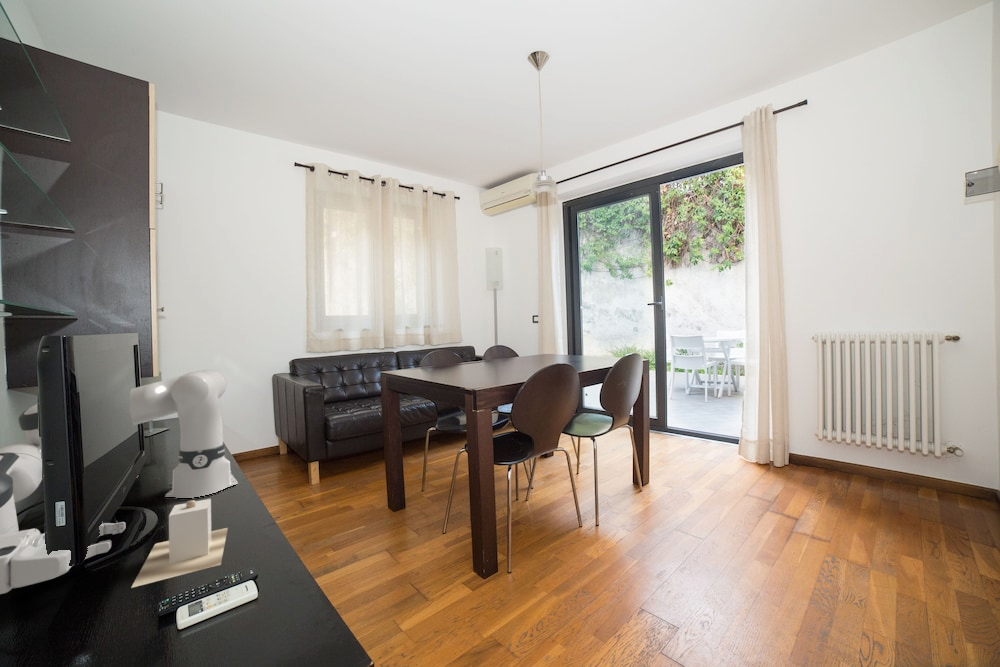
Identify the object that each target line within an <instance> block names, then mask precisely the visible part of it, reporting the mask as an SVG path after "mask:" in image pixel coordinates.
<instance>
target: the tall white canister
mask: <svg viewBox="0 0 1000 667" xmlns="http://www.w3.org/2000/svg"><path fill="white" fill-rule="evenodd" d="M211 531H212V499H211V498H207V499H202V500H197V501H196V500H195V499H189V500H187V501H186V502H185V503H180V504H175V505H174V506H173V507H172V509H171V511H170V513H169V515H168V541H169V564H171V563H175V562H179V561H183V560H187V559H191V558H195V557H199V556H203V555H208V553H209V549H210V546H211Z"/></svg>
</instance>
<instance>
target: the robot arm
mask: <svg viewBox="0 0 1000 667" xmlns="http://www.w3.org/2000/svg"><path fill="white" fill-rule="evenodd" d="M130 389H131V391H130V397H129V399H130V413H131V419H132V423H133V425H134V426H136V425H140V424H144V423H147V422H150V421H153V420H156V419H160V418H163V417H167V416H170V415H173V414H176V413H177V417H178V421H179V430H180V432H179V433H180V434H179V435H180V438H179V439H180V449H179V450H178V456H177V457H178V462H179V464H177V466H175V467H174V469H173V470H172V485H171V486H172V489H171V490H169V491H168V492H167V493H165V496H164V498H165V497H176V498H175V499H177V498H192V499H195V498H194V497H199V498H201V497H200V496H204V497H206V496H205V495H209V494H212V493H216V492H218V491H220V490H223V489H225V488H227V487H230V486H233V485H236V484H238V485H239V483H238V482H239V481H238V480H237V479H236V478H235V477H234V474H233V473H232V472H233V471H232V470H231V461H230V460H229V459H227V458H226V456H225V455H226V447H225V446H226V445H225V443H224V431H223V430H224V428H223V427H224V425H223V423H224V420H223V418H222V415H221V410H220V406H219V399H220V398H221V397H222V396H223V395H224V394H225V392H226V389H227V380H226V378H225V377H224V375H222V373H220V372H218V371H216V370H213V369H203V370H197V371H191V372H187V373H185V374H183V375H180V376H176V377H173V378H168V379H163V380H160V381H156V382H152V383H148V384H145V385H144V384H143V385H140V386H137V387H134V388H130ZM37 404H38V403H37ZM37 404H34V405H32V406H31V407H29V408H28V409H26V410H24V411H23V412H22V413H21V414H20V416H19V417H18V423H19V426H20V429H21V430H22V431H24V434H25V436H26V438H27V439H28V441H29V442H14V443H11V444H7V445H5V446H2V447H1V448H0V595H2V594H7V593H9V592H10V591H12V589H17V588H23V587H27V586H30V585H35V584H38V583H42V582H45V581H49V580H53V579H56V578H57V577H60V576H62V575H65V574H66V573H68V572H69V571H70V569H71V568H72V567H73V565H72V566H69V563H70V560H71V551H70V550H58V551H52V552H51V553H50V554H49V555H48V554H47V550H46V544H45V533H46V532H44V533H41V531H40V530H39V529H38V528H30V529H23V530H19V523H18V517H17V510H16V504H15V503H17V502H20V501H22V500H24V499H26V498H27V497H29V496H30V495H32V494H33V493H34V492H35V491H36V490H37V489H38V487H39V486H40V484H41V482H42V480H43V478H42V459H41V449H40V439H39V431H38V412H37ZM236 486H237V485H236ZM216 494H217V493H216ZM212 495H213V494H212ZM209 496H210V495H209ZM126 525H127V524H126V522H124V521H121V522H116V523H111V522H102V524H101V525H100V526H99V530H100V532H99V533H100V535H99V536H98V537H101V536H104V535H109V534H112V535H116V534H121V533H123V532H124V531H125V529H126V527H127V526H126ZM87 548H88V549H87V550H88V551H87V554H86V557H85V559H84V560H86V559H89V558H92V557H93V556H96V555H99V554H104V553H107V552H109V550H110V549H111V548H112V540H111V539H106V540H101V541H98V543H94V544H91V545H90V546H88V547H87Z"/></svg>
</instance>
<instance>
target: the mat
mask: <svg viewBox="0 0 1000 667" xmlns="http://www.w3.org/2000/svg"><path fill="white" fill-rule="evenodd" d="M228 529H229V527H226V528H225V527H224V528H220V529H216V530H211V546H210V549H209V553H208V555H203V556H199V557H195V558H191V559H187V560H183V561H179V562H175V563H171V564H169V540H166V541H162V542H157V543H155V544H154V545H153V547H152V548H151V550H150V553H149V554H148V556H147V558H146V560H145V561H144V563H143V565H142V567H141V569H140V570H139V572H138V574H137V576H136V578H135V579H134V582H133V583H132V585H131V587H130V588H131V589H133V588H137V587H140V586H144V585H148V584H152V583H155V582H160V581H164V580H167V579H171V578H176V577H180V576H184V575H187V574H190V573H191V574H192V573H195V572H198V571H202V570H206V569H209V568H214V567H218V566H221V565H222V562H223V561H222V560H223V556H224V551H225V550H224V549H225V544H226V540H227V534H228Z"/></svg>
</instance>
